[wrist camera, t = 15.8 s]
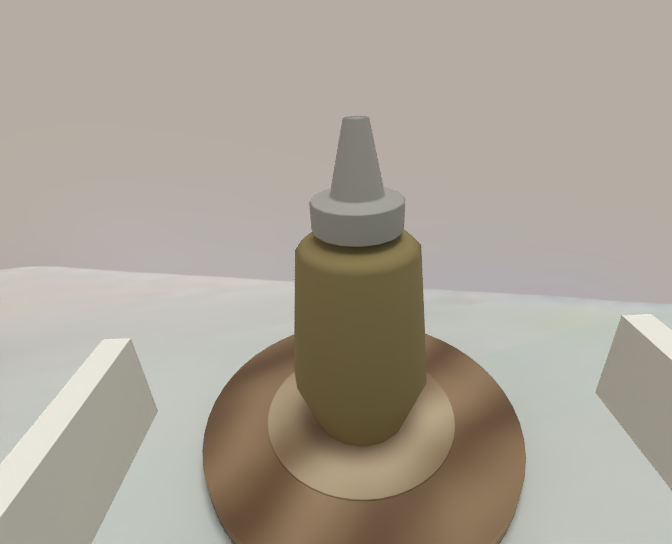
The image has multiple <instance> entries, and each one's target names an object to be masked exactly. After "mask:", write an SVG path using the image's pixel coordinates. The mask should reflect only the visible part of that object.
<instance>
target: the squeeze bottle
mask: <svg viewBox="0 0 672 544" xmlns="http://www.w3.org/2000/svg"><path fill="white" fill-rule="evenodd" d="M404 212H405V197H404V196H403V195H401V194H400V193H399V192H398V191H396V190H393V189H389V188H386V187H383V183H382V178H381V173H380V168H379V163H378V158H377V153H376V149H375V144H374V139H373V134H372V129H371V124H370V119H369V117H367V116H351V117H345V118H343V120H342V126H341V132H340V137H339V144H338V149H337V155H336V161H335V167H334V173H333V179H332V185H331V189H327V190H324V191H322V192H320V193H318V194H315V195H314V197H313V198H312V199H311V201H310V215H311V228H312V231H313V232H311V233H310V234H308V235H307V236H306V237H305V238H304V239H303V240H302V241H301V242H300V244H299V245H298V247H297V248H296V250H295V332H294V372H295V378H296V384H297V389H298V390H299V392H300V394H301V395H302V397H303V398H304V400H305V402H306V403H307V405H308V407H309V408H310V410H311V411H312V413H313V415H314V416H315V418H316V420H317V421H318V423H319V424H320V425H321V427H322V428H323V429H324V430H325V432H326V433H327V434H328V435H329V436H331V437H333V438H335V439H336V440H338V441H340V442H342V443H344V444H350V445H357V446H368V445H373V444H378V443H382V442H384V441H386V440H387V439H389V438H390V437H392V436H393V435H395V434H396V433H398V431H399V429H400V428H401V426H402V424H403V423H404V421H405V420H406V418H407V416H408V414H409V413H410V411H411V409H412V407H413V406H414V404H415V402H416V401H417V399H418V397H419V395H420V394H421V392H422V390H423V388H424V387H425V385H426V383H427V380H426V347H425V324H424V301H423V278H422V256H421V244H419V242H418V241H417V240H416V239H415V238H414V237H413V236H412V235H410V234H409V233H408V232H407V231H405V230H404V215H405V214H404Z"/></svg>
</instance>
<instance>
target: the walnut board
mask: <svg viewBox="0 0 672 544" xmlns="http://www.w3.org/2000/svg"><path fill="white" fill-rule="evenodd" d="M425 347H426V380H427V383H426V385H425V387H424V388H423V390H422V392H421V394H420V395H419V397H418V399H417V401H416V402H415V404H414V406H413V407H412V409H411V411H410V413H409V414H408V416H407V418H406V420H405V421H404V423H403V424H402V426H401V428H400V429H399V431H398V433H396V434H395V435H393V436H392V437H390V438H389V439H387V440H386V441H384V442H382V443H378V444H373V445H368V446H357V445H350V444H344V443H342V442H340V441H338V440H336V439H335V438H333V437H331V436H329V435H328V434H327V433H326V432H325V430H324V429H323V428H322V427H321V425H320V424H319V423H318V421H317V420H316V418H315V416H314V415H313V413H312V411H311V410H310V408H309V407H308V405H307V403H306V402H305V400H304V398H303V397H302V395H301V394H300V392H299V390H298V389H297V384H296V378H295V372H294V335H292V336H290V337H287V338H285V339H283V340H281V341H279V342H277V343H275V344H273V345H271V346H269V347H268V348H266V349H265V350H263V351H262V352H260V353H259V354H257V355H256V356H254V357H253V358H252V359H251V360H249V361H248V362H247V363H246V364H245V365H243V366H242V367H241V368H240V369H239V370H238V371H237V372H236V374H235V375H234V376H233V377H232V378H231V379H230V381H229V382H228V383H227V384H226V386H225V387H224V388H223V390H222V392H221V393H220V395H219V397H218V398H217V400H216V402H215V404H214V406H213V408H212V411H211V413H210V415H209V418H208V422H207V426H206V430H205V433H204V443H203V466H204V473H205V477H206V482H207V486H208V490H209V493H210V496H211V499H212V503H213V506H214V508H215V511H216V513H217V515H218V518H219V520H220V523H221V525H222V526H223V528H224V530H225V531H226V533H227V534H228V536H229V538H230V539H231V541H232V542H233V544H499V543H500V541H501V540H502V539H503V537H504V536H505V534H506V532H507V530H508V528H509V525H510V523H511V521H512V519H513V517H514V514H515V511H516V508H517V504H518V501H519V497H520V493H521V489H522V485H523V482H524V477H525V464H526V454H525V444H524V438H523V434H522V430H521V426H520V422H519V420H518V418H517V416H516V413H515V411H514V409H513V406H512V405H511V403H510V401H509V400H508V398H507V396H506V395H505V393H504V391H503V390H502V389H501V388H500V386H499V385H498V384H497V383H496V381H495V380H494V379H493V378H492V377H491V376H490V375H489V374H488V373H487V372H486V371H485V370H484V369H483V368H482V367H481V366H480V365H479V364H477V363H476V362H475V361H474V360H472V359H471V358H470V357H469V356H467V355H466V354H464V353H463V352H461V351H460V350H458V349H456V348H455V347H453V346H451V345H449V344H447V343H445V342H443V341H442V340H439V339H437V338H434V337H432V336H430V335H427V334H425Z"/></svg>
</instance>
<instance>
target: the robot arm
mask: <svg viewBox="0 0 672 544" xmlns="http://www.w3.org/2000/svg"><path fill="white" fill-rule="evenodd" d="M595 393H596V394H597V395H598V396H599V398H600V399H601V400H602V402H603V403H604V404H605V405H606V407H607V408H608V409H609V411H610V412H611V413H612V414H613V416H614V417H615V418H616V419H617V421H618V422H619V423H620V425H621V426H622V427H623V428H624V430H625V431H626V432H627V434H628V435H629V436H630V437H631V439H632V440H633V441H634V443H635V444H636V445H637V446H638V448H639V449H640V450H641V452H642V453H643V454H644V455H645V457H646V458H647V459H648V461H649V462H650V463H651V464H652V466H653V467H654V468H655V470H656V471H657V472H658V473H659V475H660V476H661V477H662V478H663V480H664V481H665V482H666V484H667V485H668V486H669V487H670V489H671V490H672V330H671V329H669V328H668V327H667V326H666V325H664V324H663V323H662V322H661V321H659V320H658V319H657V318H656V317H655V316H653V315H652V314H639V315H622V316H621V319H620V322H619V325H618V328H617V331H616V334H615V336H614V339H613V342H612V345H611V348H610V351H609V354H608V357H607V360H606V363H605V366H604V368H603V371H602V374H601V377H600V380H599V383H598V386H597V389H596V392H595ZM157 411H158V410H157V407H156V405H155V402H154V399H153V397H152V394H151V391H150V389H149V386H148V383H147V381H146V378H145V375H144V373H143V370H142V367H141V364H140V362H139V359H138V356H137V354H136V351H135V348H134V346H133V343H132V340H131V338H126V339H104V340H102V341H101V343H100V344H99V345H98V346H97V347H96V349H95V350H94V351H93V352H92V353H91V355H90V356H89V357H88V358H87V360H86V361H85V362H84V363H83V364H82V366H81V367H80V368H79V369H78V370H77V372H76V373H75V374H74V375H73V377H72V378H71V379H70V380H69V381H68V383H67V384H66V385H65V386H64V387H63V389H62V390H61V391H60V392H59V394H58V395H57V396H56V397H55V398H54V400H53V401H52V402H51V403H50V404H49V406H48V407H47V408H46V409H45V411H44V412H43V413H42V414H41V415H40V417H39V418H38V419H37V420H36V421H35V423H34V424H33V425H32V426H31V428H30V429H29V430H28V431H27V432H26V434H25V435H24V436H23V437H22V438H21V440H20V441H19V442H18V443H17V445H16V446H15V447H14V448H13V449H12V451H11V452H10V453H9V454H8V455H7V457H6V458H5V459H4V460H3V462H2V463H1V464H0V544H91V543H92V541H93V539H94V537H95V535H96V533H97V531H98V529H99V527H100V525H101V523H102V521H103V519H104V517H105V515H106V513H107V511H108V509H109V507H110V505H111V503H112V501H113V499H114V497H115V495H116V493H117V491H118V489H119V487H120V485H121V483H122V481H123V479H124V477H125V475H126V473H127V471H128V469H129V467H130V465H131V463H132V461H133V459H134V457H135V455H136V453H137V451H138V449H139V447H140V445H141V443H142V441H143V439H144V437H145V435H146V433H147V431H148V429H149V427H150V425H151V423H152V421H153V419H154V417H155V415H156V413H157Z"/></svg>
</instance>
